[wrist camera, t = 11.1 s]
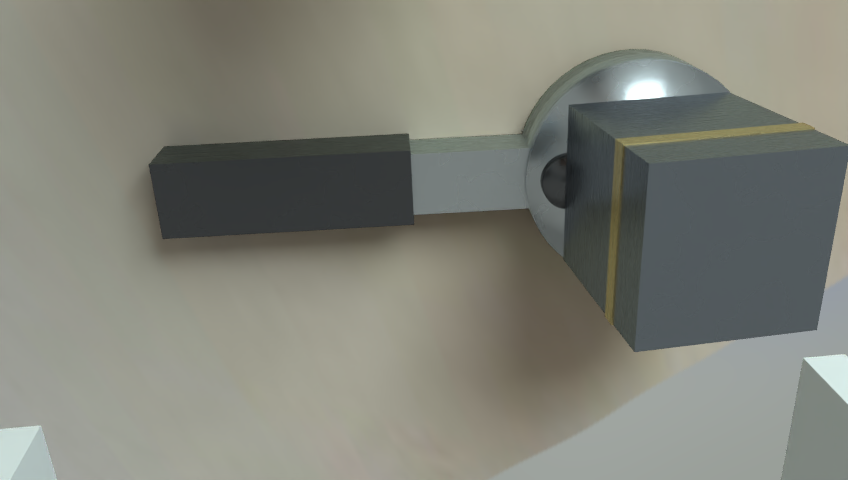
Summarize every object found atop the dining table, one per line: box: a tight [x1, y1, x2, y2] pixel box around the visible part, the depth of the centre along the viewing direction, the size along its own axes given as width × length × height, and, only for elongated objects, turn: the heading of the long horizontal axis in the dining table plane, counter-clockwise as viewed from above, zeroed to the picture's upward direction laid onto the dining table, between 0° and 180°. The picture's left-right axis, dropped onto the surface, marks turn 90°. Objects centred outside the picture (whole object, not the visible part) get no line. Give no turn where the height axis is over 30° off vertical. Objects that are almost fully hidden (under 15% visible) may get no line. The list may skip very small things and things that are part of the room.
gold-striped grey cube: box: [563, 92, 848, 352], centre depth 31 cm, size 7×7×8 cm
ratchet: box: [149, 49, 730, 256], centre depth 33 cm, size 26×10×8 cm, turn 92°
